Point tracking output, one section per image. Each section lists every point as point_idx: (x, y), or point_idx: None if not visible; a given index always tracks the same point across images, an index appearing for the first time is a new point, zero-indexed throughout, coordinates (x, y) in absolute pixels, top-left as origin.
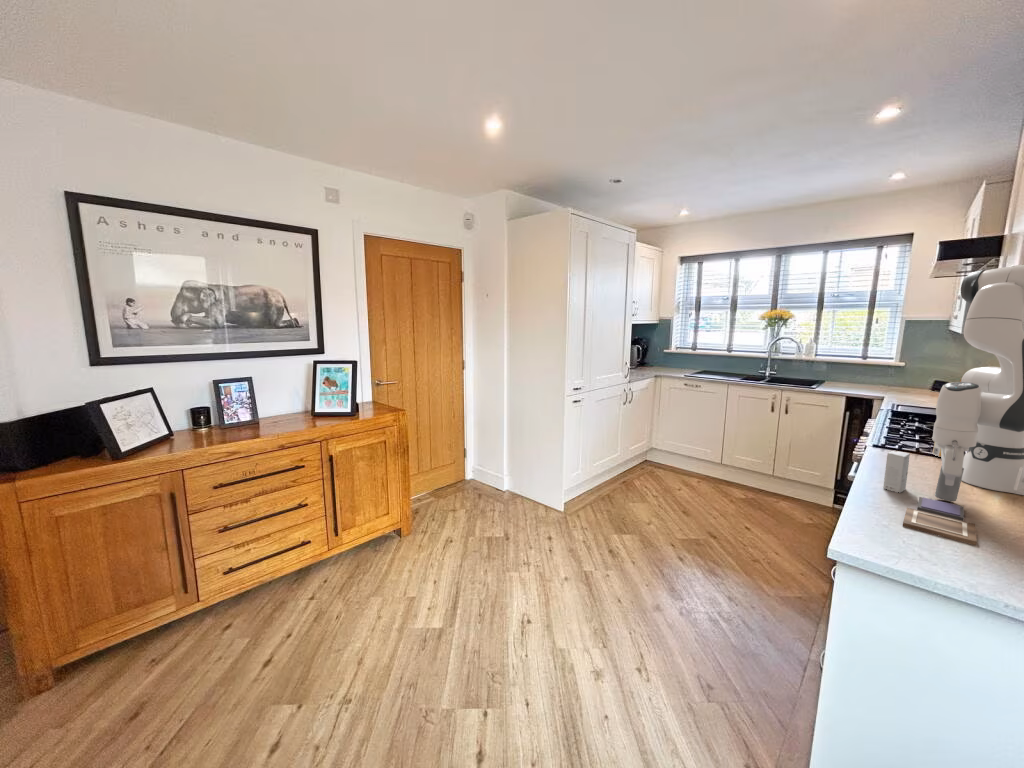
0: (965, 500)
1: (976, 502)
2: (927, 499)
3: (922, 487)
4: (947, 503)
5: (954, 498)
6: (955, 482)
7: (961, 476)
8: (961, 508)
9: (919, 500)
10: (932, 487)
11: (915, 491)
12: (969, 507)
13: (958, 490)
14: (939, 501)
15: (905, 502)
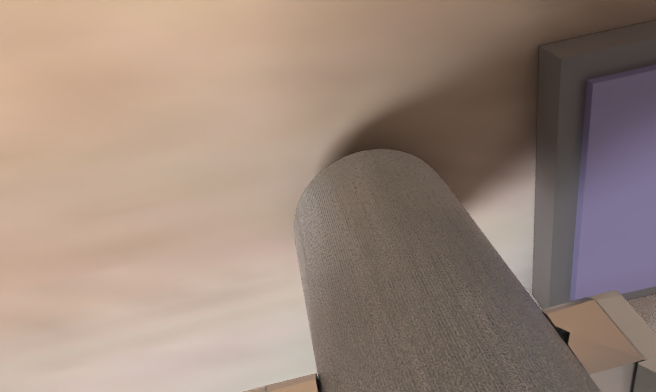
0: (137, 110)
1: (87, 27)
2: (609, 273)
3: (119, 381)
4: (610, 164)
5: (427, 170)
6: (542, 316)
7: (544, 378)
8: (644, 56)
9: (652, 291)
10: (21, 354)
11: (298, 368)
12: (365, 31)
13: (419, 212)
14: (598, 213)
15: (649, 317)
